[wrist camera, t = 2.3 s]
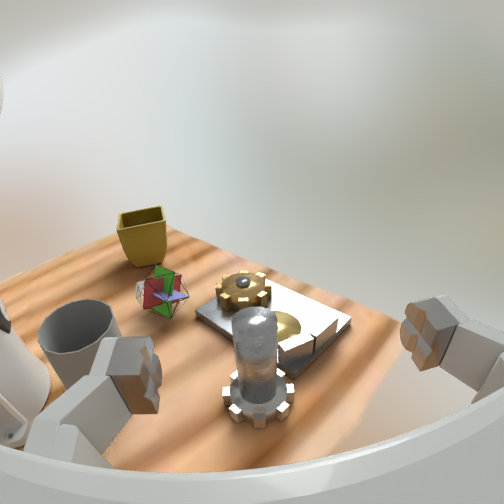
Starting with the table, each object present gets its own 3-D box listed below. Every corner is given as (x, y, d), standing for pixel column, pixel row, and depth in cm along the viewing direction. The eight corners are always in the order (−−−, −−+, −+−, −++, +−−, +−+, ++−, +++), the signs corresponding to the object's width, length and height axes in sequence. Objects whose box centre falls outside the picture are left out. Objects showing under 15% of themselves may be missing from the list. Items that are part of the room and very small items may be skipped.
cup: (92, 431, 24) (46, 367, 20) (67, 384, 30) (31, 320, 25) (155, 395, 30) (127, 326, 25) (122, 355, 35) (97, 289, 30)
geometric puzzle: (174, 274, 48) (142, 250, 42) (206, 287, 44) (174, 262, 38) (153, 314, 46) (118, 295, 40) (183, 331, 42) (147, 313, 36)
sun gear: (244, 328, 39) (242, 304, 37) (207, 305, 44) (204, 282, 42) (282, 301, 44) (282, 278, 42) (244, 283, 49) (243, 261, 47)
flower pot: (173, 266, 55) (165, 219, 51) (127, 275, 52) (115, 229, 48) (169, 246, 62) (162, 205, 58) (128, 254, 60) (119, 213, 56)
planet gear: (260, 440, 25) (255, 366, 20) (211, 401, 29) (192, 322, 24) (306, 397, 29) (316, 316, 24) (257, 366, 33) (252, 286, 28)
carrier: (294, 380, 31) (296, 357, 29) (196, 316, 42) (192, 294, 40) (350, 324, 39) (354, 301, 37) (256, 280, 49) (255, 260, 48)
